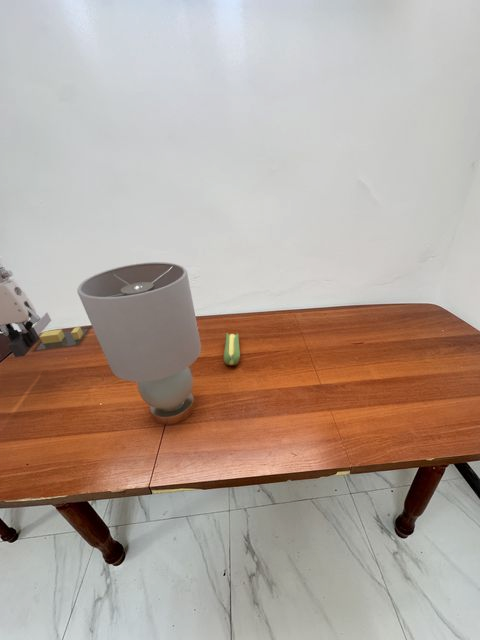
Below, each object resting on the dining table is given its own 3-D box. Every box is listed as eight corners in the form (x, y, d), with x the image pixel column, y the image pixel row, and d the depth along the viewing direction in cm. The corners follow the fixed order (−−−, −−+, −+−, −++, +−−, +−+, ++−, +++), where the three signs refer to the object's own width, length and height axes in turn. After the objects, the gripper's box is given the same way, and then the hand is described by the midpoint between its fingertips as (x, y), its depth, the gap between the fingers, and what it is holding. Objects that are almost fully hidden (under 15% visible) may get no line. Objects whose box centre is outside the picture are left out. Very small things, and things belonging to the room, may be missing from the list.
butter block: (43, 343, 106) (39, 336, 104) (47, 338, 109) (44, 331, 108) (60, 341, 107) (57, 334, 105) (65, 336, 110) (61, 329, 109)
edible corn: (223, 370, 89) (221, 358, 87) (226, 337, 106) (224, 326, 104) (240, 369, 89) (239, 356, 87) (240, 336, 106) (239, 324, 104)
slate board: (37, 353, 104) (35, 350, 103) (51, 336, 113) (49, 333, 113) (79, 348, 105) (77, 344, 104) (89, 332, 115) (88, 328, 114)
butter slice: (74, 339, 107) (70, 332, 106) (77, 334, 111) (74, 327, 109) (79, 339, 108) (76, 332, 106) (83, 333, 111) (80, 326, 109)
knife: (15, 357, 75) (7, 345, 73) (47, 321, 91) (41, 310, 89) (24, 356, 75) (17, 344, 73) (54, 320, 92) (49, 309, 90)
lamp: (156, 381, 86) (117, 261, 67) (222, 386, 83) (200, 261, 64) (117, 435, 70) (50, 297, 51) (196, 444, 67) (157, 299, 47)
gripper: (32, 269, 72) (63, 333, 83) (-41, 276, 70) (1, 342, 81) (16, 279, 66) (53, 347, 76) (-63, 288, 64) (-15, 357, 74)
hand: (26, 344), depth 78 cm, fingers closed on knife, 2 cm apart
